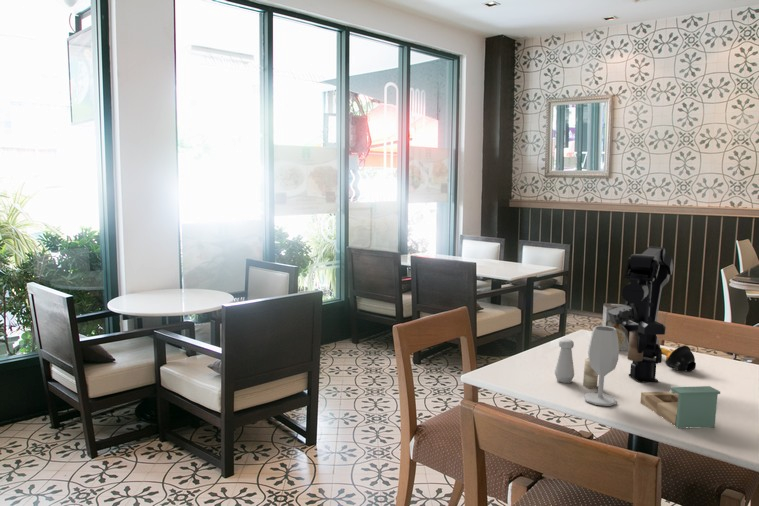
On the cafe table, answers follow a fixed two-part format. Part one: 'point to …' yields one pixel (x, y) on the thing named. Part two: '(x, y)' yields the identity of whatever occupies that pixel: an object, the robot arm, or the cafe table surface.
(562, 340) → the salt shaker
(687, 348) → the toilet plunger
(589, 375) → the maple peg
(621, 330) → the coffee box
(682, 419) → the teal l-shaped bracket
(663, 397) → the socket block
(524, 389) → the cafe table surface
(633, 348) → the walnut peg
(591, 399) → the wineglass
